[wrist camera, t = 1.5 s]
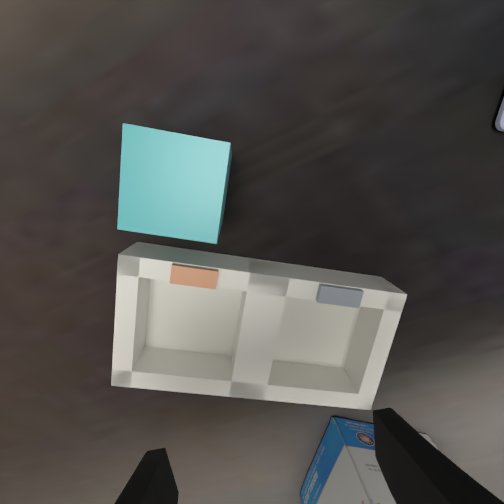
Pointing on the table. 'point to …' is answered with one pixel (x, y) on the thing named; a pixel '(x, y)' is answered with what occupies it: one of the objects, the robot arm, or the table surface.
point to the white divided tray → (250, 327)
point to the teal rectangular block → (172, 184)
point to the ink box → (347, 467)
